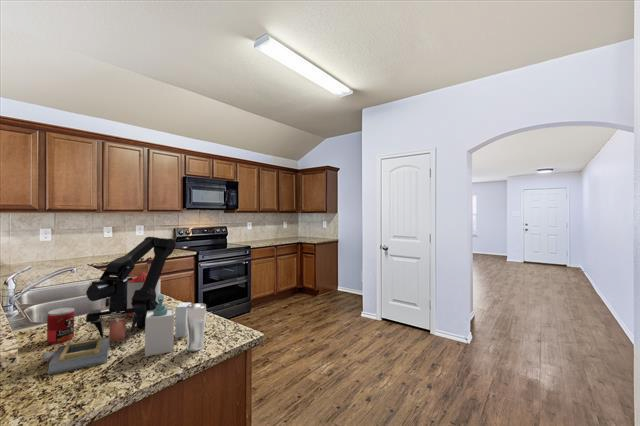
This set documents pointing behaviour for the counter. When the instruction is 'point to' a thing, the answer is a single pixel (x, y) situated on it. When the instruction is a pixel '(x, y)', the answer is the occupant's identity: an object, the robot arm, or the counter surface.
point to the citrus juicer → (137, 285)
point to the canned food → (60, 325)
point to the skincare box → (181, 320)
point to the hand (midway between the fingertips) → (117, 334)
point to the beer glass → (195, 326)
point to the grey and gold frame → (78, 355)
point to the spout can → (117, 329)
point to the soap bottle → (159, 329)
